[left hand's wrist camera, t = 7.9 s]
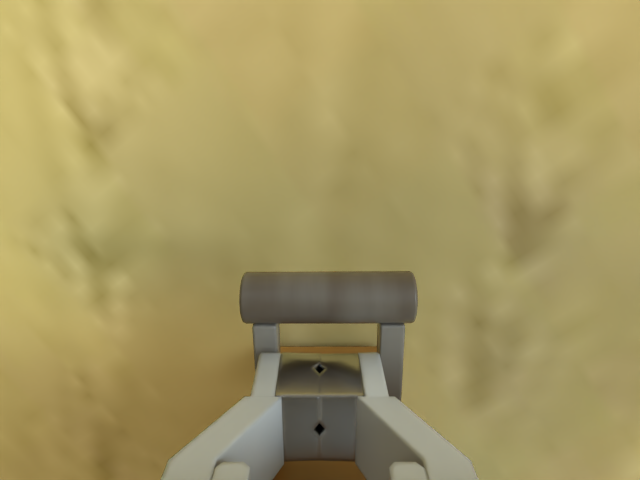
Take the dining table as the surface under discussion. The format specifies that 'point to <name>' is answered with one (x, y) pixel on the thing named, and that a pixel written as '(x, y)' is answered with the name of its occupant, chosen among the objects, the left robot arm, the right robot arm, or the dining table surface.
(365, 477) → the left robot arm
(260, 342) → the drawer
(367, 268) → the dining table surface
